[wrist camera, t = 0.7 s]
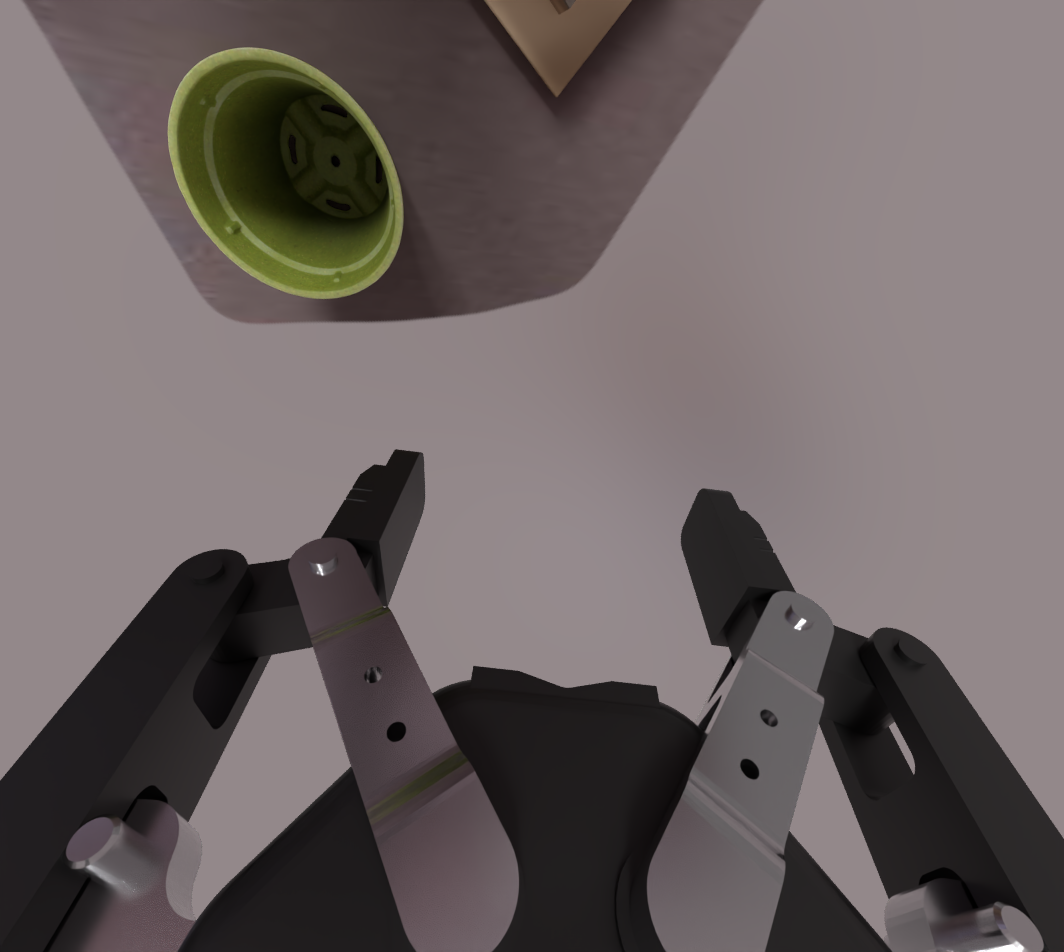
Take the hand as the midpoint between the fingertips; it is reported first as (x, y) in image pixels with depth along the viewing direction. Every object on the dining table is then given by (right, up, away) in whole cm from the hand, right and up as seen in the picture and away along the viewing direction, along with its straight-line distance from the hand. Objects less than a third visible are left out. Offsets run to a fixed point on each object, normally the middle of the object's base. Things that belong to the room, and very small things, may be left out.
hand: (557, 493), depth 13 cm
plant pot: (-12, +19, +13) cm, 26 cm away
